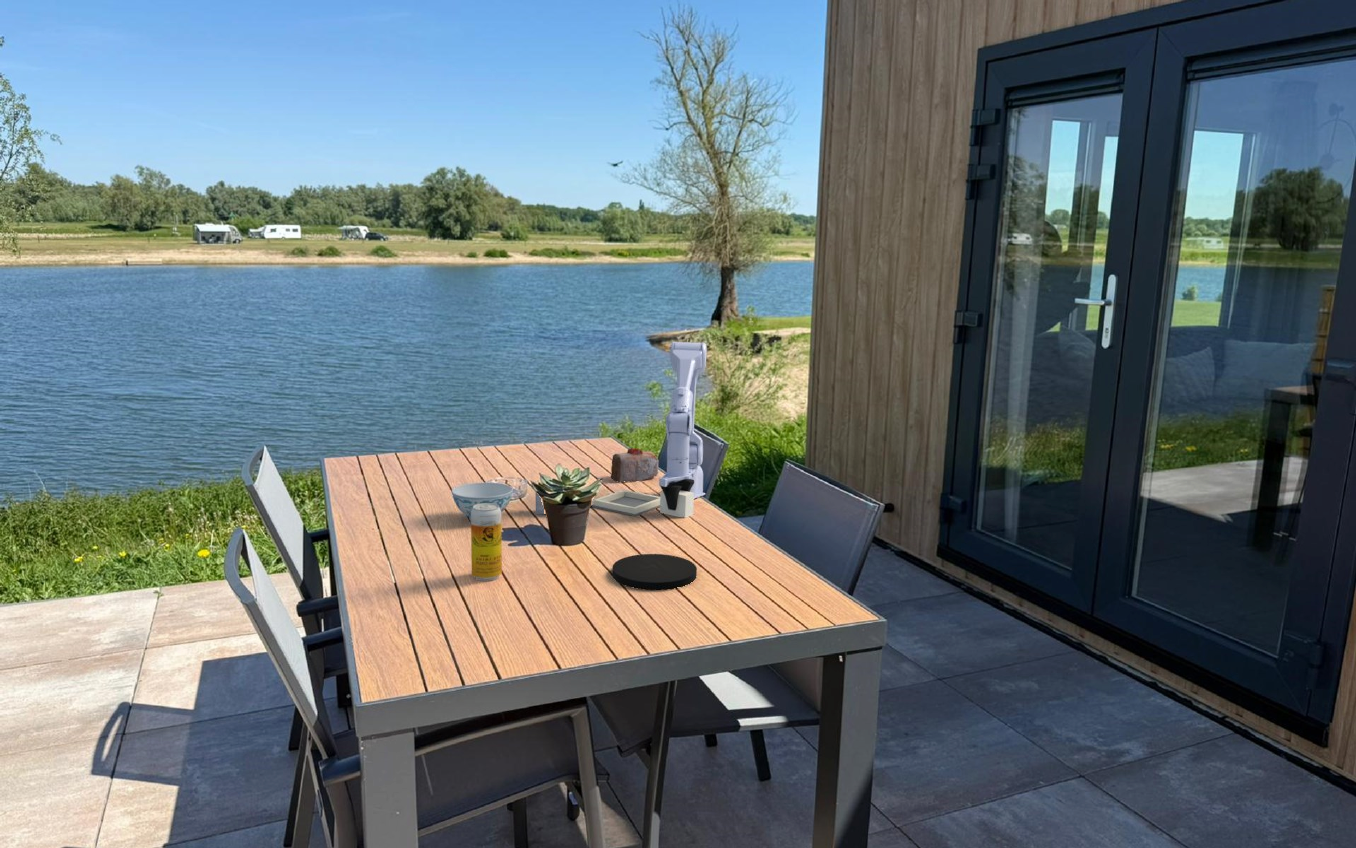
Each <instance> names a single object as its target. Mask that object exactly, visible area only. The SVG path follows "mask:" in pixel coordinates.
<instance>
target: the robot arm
mask: <svg viewBox="0 0 1356 848" xmlns="http://www.w3.org/2000/svg"><path fill="white" fill-rule="evenodd" d="M707 349H708V348H707V344H706V342H704V341H703V342H689V341H688V342H685V341H675V340H674V341H672V342H671V344H670V349H669V360H670V363H671V364H670V365H671V368H672V371H673V372H675V373H677V374H676V379H677V380H676V388H675V389H674V390H673V391H672V392H671V399H670V405H669V413H667V414H666V418H665V430H666V431H665V432H666V441H667V451H666V460H667V461H666V473H665V474H664V475H663V476H662V477H660V478H658V486H659V487H660V489H661V491H662V490H663V492H664V495H665V498H666V502H667V506H668V509H669V510H676V507H677V500H678V495H679V492H680V490H682V491H687V492H693V493H694V500H695V499H698V498H699V497H702V496H705V495H706V493H705V492H703V491H704V471H703V469H702V467H701V465H702V464H703V459H704V457H703V456H704V445H703V444H704V440H703V438H702V437H701V436H700V435H699V434H697V433H696V432H695V416H696V413H695V411H696V394H697V391H696V390H697V381H698V378H699V375H700V374H702V373H705V371H706V370H705V369H706V367H707V365H706V364H707Z"/></svg>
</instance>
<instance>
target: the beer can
mask: <svg viewBox="0 0 1356 848" xmlns="http://www.w3.org/2000/svg"><path fill="white" fill-rule="evenodd" d="M470 540H471V541H470V542H471V543H470V544H471V545H470V546H471V551H470V552H471V559H470V560H471V575H472V576H473V578H474V579H475V580H477V581H485V582H487V581H488V582H489V581H495V580H497V579H498V578H499V577H500V575H501V574H502V571H503V570H502V568H503V565H502V564H503V561H502V559H503V558H502V557H503V555H502V551H503V549H502V542H503V541H502V512H501V510H500V508H499V505H497V504H493V503H481V504H477V505H474V506H473V509H472V511H471V521H470Z"/></svg>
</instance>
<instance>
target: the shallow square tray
mask: <svg viewBox="0 0 1356 848" xmlns="http://www.w3.org/2000/svg"><path fill="white" fill-rule="evenodd" d="M593 500H594V501H593ZM593 500H592V504H591V505H592V507H591V508H593V509H598V508H599V509H600V510H604V511H608V510H609V512H613V513H617V514H622V515H627V516H631V517H637V516H640V515H643V514H645V513H648V512H651V511H654V510H656V508H657V509H660V496H658V495H653V494H652V495H651V494H647V493H643V492H638V491H637V492H636V491H633V490H627V489H623V490H620V491H616V492H613V493H610V494H607V495H604V496H601V497H597V498H595V499H593Z"/></svg>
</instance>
